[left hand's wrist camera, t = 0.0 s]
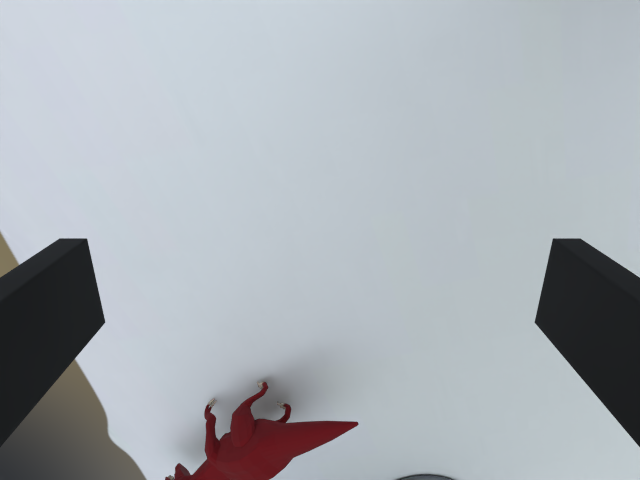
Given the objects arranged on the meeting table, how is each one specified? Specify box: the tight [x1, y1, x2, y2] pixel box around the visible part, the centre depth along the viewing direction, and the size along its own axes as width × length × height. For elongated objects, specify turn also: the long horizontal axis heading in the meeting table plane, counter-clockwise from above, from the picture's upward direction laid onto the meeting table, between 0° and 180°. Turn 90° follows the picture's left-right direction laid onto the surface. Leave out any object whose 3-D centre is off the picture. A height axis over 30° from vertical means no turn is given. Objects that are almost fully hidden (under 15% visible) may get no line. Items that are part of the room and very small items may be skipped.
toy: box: [165, 382, 358, 480], centre depth 42 cm, size 7×25×15 cm
